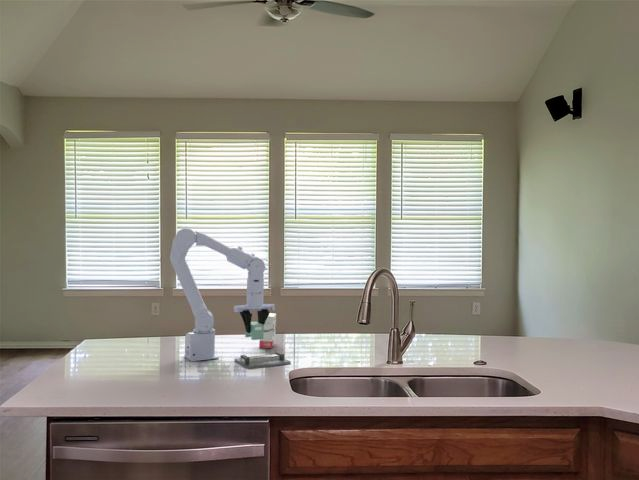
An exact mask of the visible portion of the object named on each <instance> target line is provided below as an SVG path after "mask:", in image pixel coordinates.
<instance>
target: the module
mask: <svg viewBox="0 0 639 480" xmlns="http://www.w3.org/2000/svg"><path fill="white" fill-rule="evenodd" d="M244 331H245V333H244V337H245V338H250V339H251V340H252V341H256V340H257V341H258V340H259V341H260V339H263V333H264V324H261V323H258V321H251V330H250V333H247V332H246V329H245V328H244Z"/></svg>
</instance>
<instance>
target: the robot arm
mask: <svg viewBox="0 0 639 480" xmlns="http://www.w3.org/2000/svg"><path fill="white" fill-rule="evenodd" d="M194 244H195V247H198V246H200V247H203V246H204V247H207V248H209V249H211V250H214V251H215V252H217V253H219V254H222V255H223V256H225V258H226V260H227V262H228V263H230V264H233V265H235V266H236V267H239V268H240V269H242V270H247V279H246V304H241V305H234V306H233V312H234V313H239V314H240V316H241V319H242V321H243V324H244V325H243V326H244V330H245V329H246V332H247V333H250V330H251V322H252V318H253V317H252V316H253V313H251V312H256V314H257V322H258V323H261V324H265V321H266V319H267V317H268V316H269V313H271V312H270V311H276V305H275V303H264V290H265V289H264V288H265V284H264V282H265V279H264V276H265V274H264V272H265V271H266V264H265V262H264V260H263V259H261V258H260V257H258V256H255V255H256V254H254V253H249V252H248V251H246V250H243V247H242V246H237V245H235V246H232V247H229V246H228V245H225V244H224V243H222V242H220V241H218V240H216V239H215V238H213V237H211V236H209V235H207V234H205V233H202V232H199V231H194V230H192V229H191V228H187V227H186V228H181V229H180V230H178V231H177V233H176V234H175V236H174V238H173V240H172V245H171V249H170V254H169V261H170V264H171V266H172V267H173V269H174V272H175V274H176V277H177V279H178V281H179V283H180V285H181V288H182V290H183V293H184V295H185V297H186V299H187V301H188V304H189V307H190V309H191V311H192V314H193V317H194V325H195V326H194V328H193V330H192V331H191V332H187V333H186V334H185V339H184V341H185V342H184V356H183V357H184V358H186V359H188V360H189V361H190V362H197V361H206V360H207V361H208V360H217V359H219V356H218V355H216V354H215V350H216V349H215V343H216V342H215V341H216V329H215V328H214V326H215V319H214V314H213V313H212V311H211V310H209V309H208V308H207V305H206V304H205V302H204V300H203V297H202V295H201V292H200V290H199V288H198V286H197V283H196V281H195V279H194V276H193V274H192V272H191V269H190V268H189V265H188V263H187V260H186V257H187V255H188V252H189V250H190V249H191V248H192V246H194Z"/></svg>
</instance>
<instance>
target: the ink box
mask: <svg viewBox="0 0 639 480" xmlns="http://www.w3.org/2000/svg"><path fill="white" fill-rule="evenodd" d="M276 327H277V313H273V312H270V313H269V316H268V317H267V319H266V321H265V324H264V333H263V339H259V349H272V348H273V347H274V346H275V344H276Z"/></svg>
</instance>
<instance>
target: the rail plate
mask: <svg viewBox="0 0 639 480" xmlns="http://www.w3.org/2000/svg"><path fill="white" fill-rule="evenodd" d="M234 362H236V364H239V365H240V366H242V367H244V368H246V369H247V370H249V369H250V370H251V369H252V370H253V369H261V368H266V367H267V368H268V367H276V366H277V367H278V366H283V365H291V362H292V361H291V360H289V359H286V358H285V353H283V352H281V351H278V350H276V351H275V353H271V354H263V355H262V354H261V355H253V356H252V355H251V356H247V355H245V354H243V355H242V354H241V355H240V357H239V358H238V357H237V358H234Z"/></svg>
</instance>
